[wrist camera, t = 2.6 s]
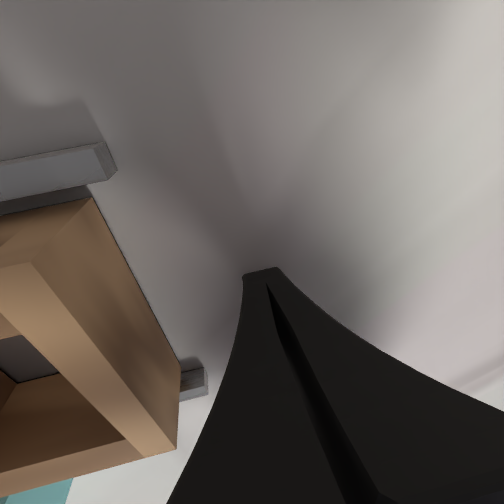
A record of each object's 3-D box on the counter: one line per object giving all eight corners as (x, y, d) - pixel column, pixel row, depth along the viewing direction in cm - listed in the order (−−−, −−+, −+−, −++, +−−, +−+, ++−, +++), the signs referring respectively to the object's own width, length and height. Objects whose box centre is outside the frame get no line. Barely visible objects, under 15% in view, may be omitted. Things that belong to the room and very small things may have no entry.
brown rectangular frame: (181, 367, 13) (176, 449, 10) (14, 409, 12) (-43, 509, 9) (91, 197, 8) (30, 261, 5) (-196, 256, 7) (-457, 367, 4)
